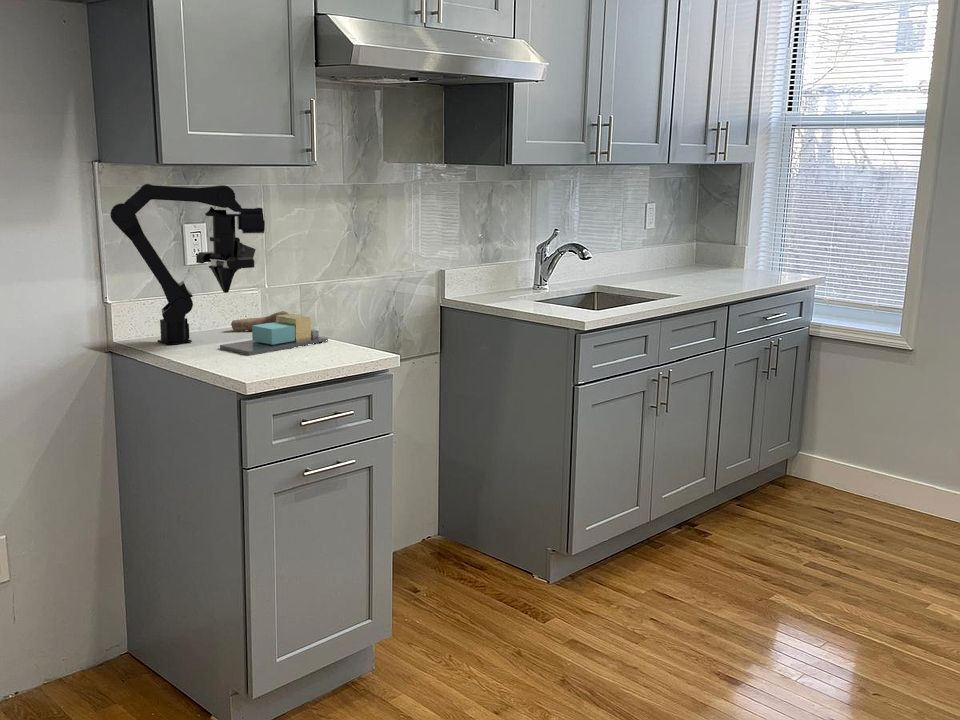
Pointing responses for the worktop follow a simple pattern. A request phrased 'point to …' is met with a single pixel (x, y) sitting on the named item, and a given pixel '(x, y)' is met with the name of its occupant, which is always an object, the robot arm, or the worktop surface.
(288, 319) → the brass block
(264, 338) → the slide jaw
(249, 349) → the vise
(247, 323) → the pipe
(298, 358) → the worktop surface
